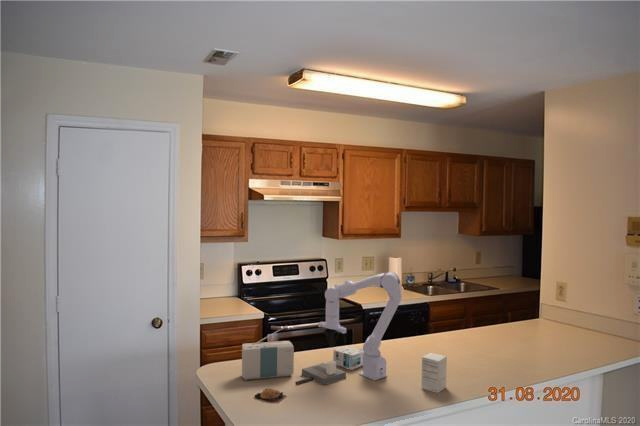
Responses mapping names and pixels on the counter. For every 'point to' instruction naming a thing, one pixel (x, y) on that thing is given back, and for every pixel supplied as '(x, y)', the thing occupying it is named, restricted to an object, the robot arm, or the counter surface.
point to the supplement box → (434, 372)
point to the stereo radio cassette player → (267, 359)
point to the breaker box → (323, 374)
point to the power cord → (303, 380)
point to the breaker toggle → (331, 367)
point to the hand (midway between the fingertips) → (331, 346)
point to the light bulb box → (348, 357)
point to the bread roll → (270, 395)
